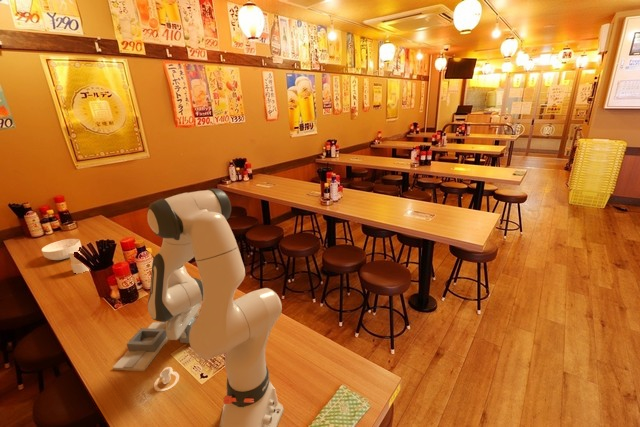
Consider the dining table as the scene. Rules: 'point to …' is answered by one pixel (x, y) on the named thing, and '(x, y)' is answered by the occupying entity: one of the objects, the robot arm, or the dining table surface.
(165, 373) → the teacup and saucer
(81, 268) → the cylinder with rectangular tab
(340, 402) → the dining table surface
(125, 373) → the dining table surface
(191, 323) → the block
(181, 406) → the dining table surface
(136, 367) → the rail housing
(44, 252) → the bowl
